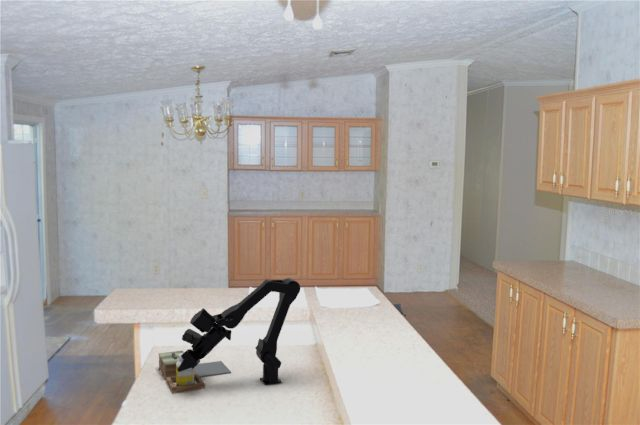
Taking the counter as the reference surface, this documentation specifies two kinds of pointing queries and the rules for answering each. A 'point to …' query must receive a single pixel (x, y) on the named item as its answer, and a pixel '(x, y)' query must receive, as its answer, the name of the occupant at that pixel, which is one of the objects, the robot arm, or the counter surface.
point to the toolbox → (169, 373)
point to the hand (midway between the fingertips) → (181, 367)
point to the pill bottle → (184, 374)
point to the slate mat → (211, 369)
